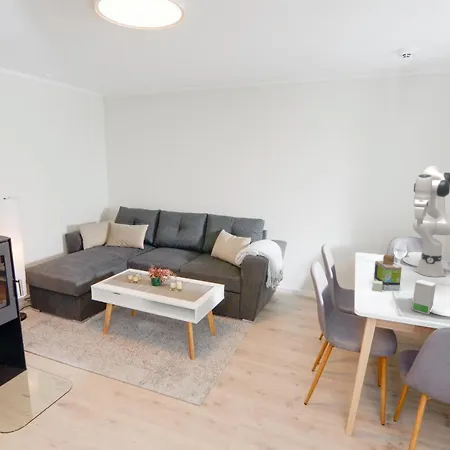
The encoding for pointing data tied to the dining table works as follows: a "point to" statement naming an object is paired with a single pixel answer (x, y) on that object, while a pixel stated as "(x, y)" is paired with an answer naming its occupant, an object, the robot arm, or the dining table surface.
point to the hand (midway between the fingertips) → (419, 225)
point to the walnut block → (388, 259)
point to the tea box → (388, 275)
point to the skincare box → (423, 296)
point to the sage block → (377, 286)
